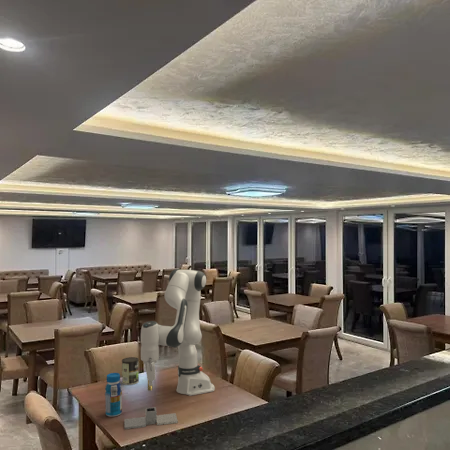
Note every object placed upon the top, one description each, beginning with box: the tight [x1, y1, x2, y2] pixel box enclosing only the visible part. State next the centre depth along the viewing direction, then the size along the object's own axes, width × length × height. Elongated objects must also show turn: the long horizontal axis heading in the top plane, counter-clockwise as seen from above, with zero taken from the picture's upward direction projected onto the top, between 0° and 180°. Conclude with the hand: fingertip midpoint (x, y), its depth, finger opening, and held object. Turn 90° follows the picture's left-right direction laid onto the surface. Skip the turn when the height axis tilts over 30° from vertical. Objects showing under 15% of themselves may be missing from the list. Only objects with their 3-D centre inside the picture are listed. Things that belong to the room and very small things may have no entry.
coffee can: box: [121, 356, 140, 386], centre depth 263 cm, size 10×10×14 cm
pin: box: [147, 380, 154, 392], centre depth 206 cm, size 2×2×7 cm
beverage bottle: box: [104, 372, 123, 418], centre depth 216 cm, size 8×8×20 cm
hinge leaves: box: [124, 406, 179, 430], centre depth 206 cm, size 25×9×6 cm, turn 103°
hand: (150, 383), depth 206 cm, fingers closed on pin, 2 cm apart
